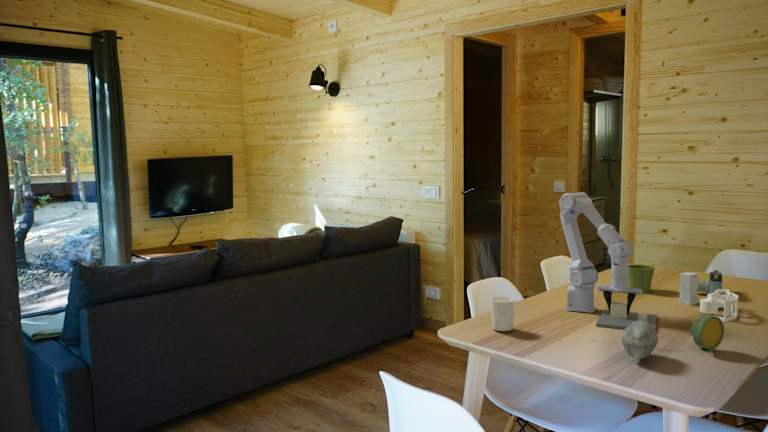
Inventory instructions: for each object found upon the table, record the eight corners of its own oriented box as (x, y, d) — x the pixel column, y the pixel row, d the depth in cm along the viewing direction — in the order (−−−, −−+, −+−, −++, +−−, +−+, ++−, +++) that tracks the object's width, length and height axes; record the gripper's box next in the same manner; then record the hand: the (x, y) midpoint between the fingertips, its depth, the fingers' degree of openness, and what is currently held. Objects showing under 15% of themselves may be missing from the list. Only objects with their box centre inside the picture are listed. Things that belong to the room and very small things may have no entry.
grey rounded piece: (625, 336, 176) (624, 309, 172) (660, 341, 171) (660, 313, 167) (618, 365, 165) (617, 337, 161) (655, 371, 161) (655, 342, 156)
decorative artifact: (700, 352, 168) (701, 318, 167) (679, 345, 174) (680, 312, 173) (723, 347, 172) (724, 314, 171) (702, 340, 178) (703, 309, 177)
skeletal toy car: (710, 306, 219) (710, 287, 219) (743, 310, 212) (744, 291, 212) (696, 317, 205) (697, 297, 204) (732, 322, 197) (733, 301, 197)
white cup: (500, 333, 190) (500, 303, 189) (486, 327, 197) (486, 298, 196) (519, 329, 193) (519, 300, 192) (504, 323, 200) (504, 295, 199)
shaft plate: (596, 326, 195) (596, 314, 195) (603, 312, 213) (603, 301, 213) (654, 332, 187) (655, 320, 187) (657, 317, 205) (657, 305, 204)
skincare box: (689, 306, 219) (691, 275, 218) (678, 304, 222) (679, 273, 221) (698, 304, 222) (699, 273, 221) (687, 302, 226) (688, 271, 225)
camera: (694, 290, 245) (695, 267, 244) (720, 293, 240) (721, 269, 239) (694, 299, 230) (694, 274, 229) (721, 301, 226) (722, 276, 225)
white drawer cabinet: (610, 316, 203) (610, 304, 202) (611, 313, 207) (612, 300, 207) (626, 318, 200) (626, 305, 200) (627, 314, 205) (627, 302, 205)
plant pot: (657, 291, 244) (657, 265, 243) (653, 297, 234) (653, 270, 233) (627, 288, 250) (627, 263, 249) (622, 294, 240) (622, 267, 239)
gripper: (596, 275, 202) (595, 313, 204) (641, 279, 196) (640, 318, 197) (599, 272, 209) (598, 309, 210) (643, 275, 202) (642, 313, 203)
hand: (619, 313), depth 204 cm, fingers closed on white drawer cabinet, 5 cm apart
